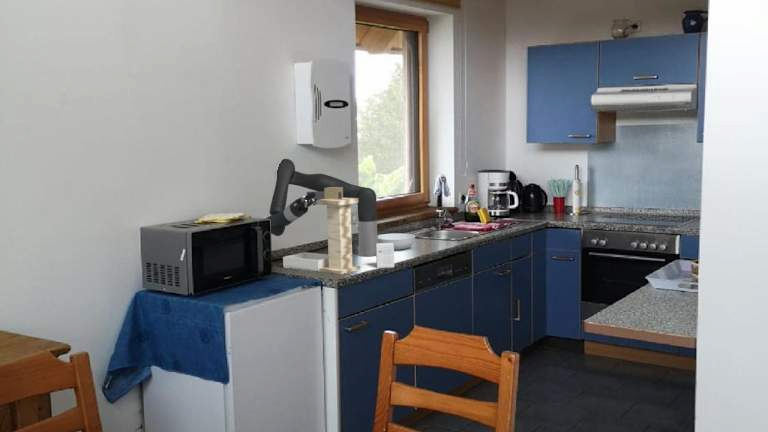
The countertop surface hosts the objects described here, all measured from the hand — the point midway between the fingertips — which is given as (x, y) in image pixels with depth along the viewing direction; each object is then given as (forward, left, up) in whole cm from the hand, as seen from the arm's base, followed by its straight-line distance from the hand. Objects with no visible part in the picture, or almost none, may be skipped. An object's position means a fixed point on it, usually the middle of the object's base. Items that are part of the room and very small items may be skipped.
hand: (318, 193), depth 353 cm
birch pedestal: (0, +11, -34) cm, 36 cm away
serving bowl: (-62, -2, -34) cm, 71 cm away
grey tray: (-1, -6, -34) cm, 35 cm away
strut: (+1, +4, -2) cm, 4 cm away
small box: (-18, +23, -34) cm, 45 cm away
